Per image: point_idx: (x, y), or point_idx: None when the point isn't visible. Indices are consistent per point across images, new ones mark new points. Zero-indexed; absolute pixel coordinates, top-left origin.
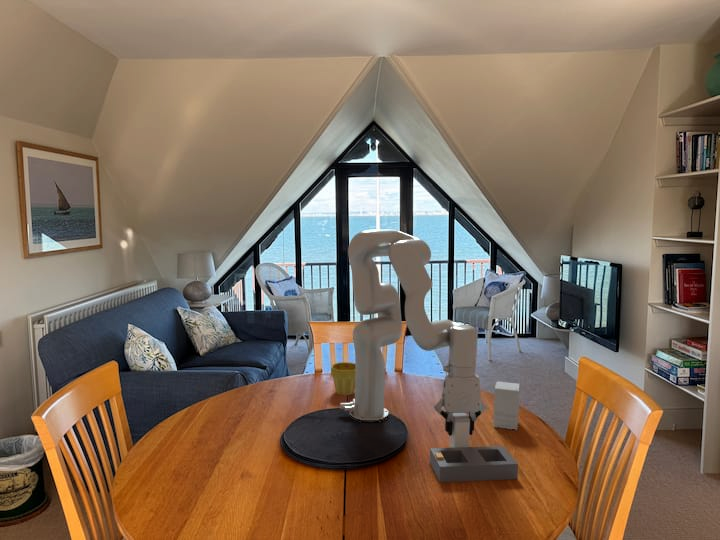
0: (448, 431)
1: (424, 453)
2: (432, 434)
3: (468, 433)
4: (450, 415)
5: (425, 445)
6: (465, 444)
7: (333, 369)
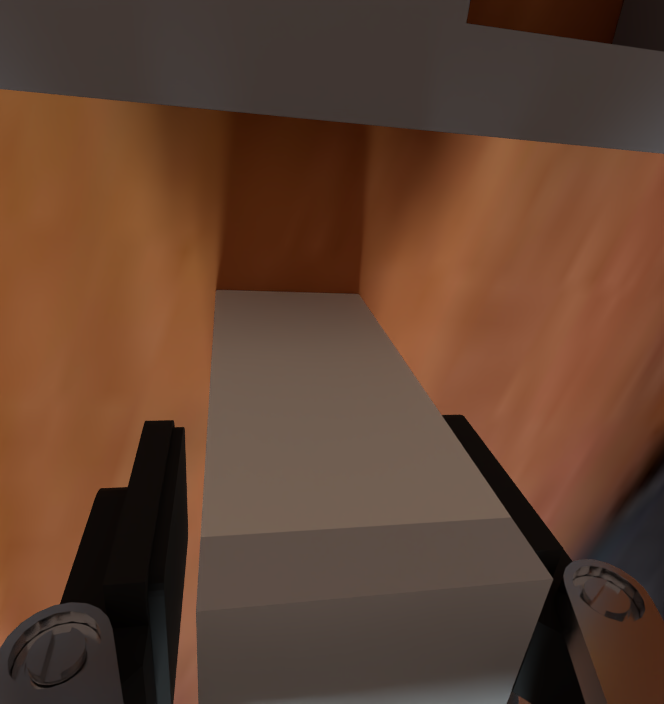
0: None
1: (597, 327)
2: None
3: (222, 398)
4: (644, 681)
5: (521, 451)
6: (255, 328)
7: None
